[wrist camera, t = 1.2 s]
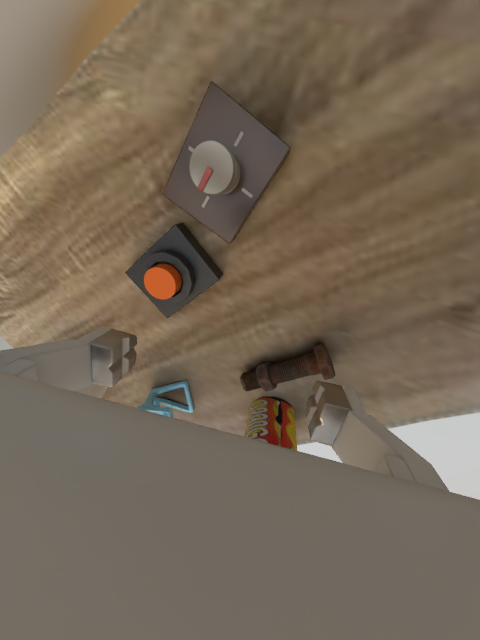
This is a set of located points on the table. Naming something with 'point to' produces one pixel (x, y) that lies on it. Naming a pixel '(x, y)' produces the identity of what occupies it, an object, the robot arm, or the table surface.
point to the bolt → (289, 370)
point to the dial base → (251, 152)
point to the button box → (177, 268)
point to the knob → (214, 168)
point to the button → (162, 281)
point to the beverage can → (272, 422)
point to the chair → (154, 403)
